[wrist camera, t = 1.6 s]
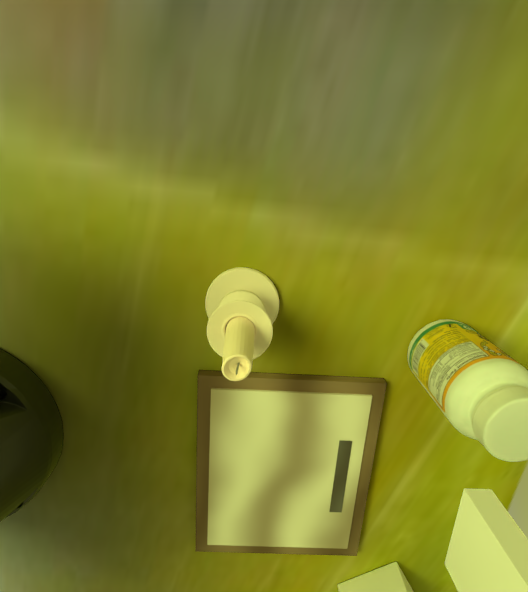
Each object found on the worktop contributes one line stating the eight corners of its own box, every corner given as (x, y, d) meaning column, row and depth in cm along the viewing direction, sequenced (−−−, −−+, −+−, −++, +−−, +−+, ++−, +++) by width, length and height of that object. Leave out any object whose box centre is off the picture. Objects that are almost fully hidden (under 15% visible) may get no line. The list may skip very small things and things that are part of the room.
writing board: (196, 543, 35) (195, 554, 34) (199, 370, 30) (197, 377, 29) (354, 547, 36) (357, 558, 35) (383, 378, 31) (387, 385, 30)
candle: (284, 272, 28) (300, 331, 18) (272, 340, 30) (281, 428, 20) (210, 261, 28) (185, 314, 18) (201, 330, 29) (174, 415, 19)
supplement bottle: (393, 340, 30) (454, 417, 21) (460, 303, 29) (554, 367, 20) (423, 393, 31) (492, 488, 22) (488, 361, 31) (587, 444, 21)
